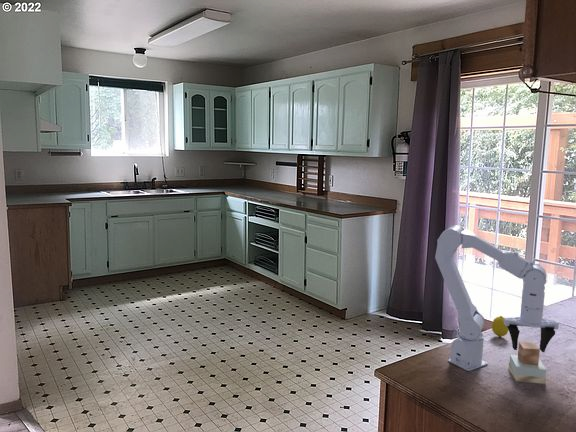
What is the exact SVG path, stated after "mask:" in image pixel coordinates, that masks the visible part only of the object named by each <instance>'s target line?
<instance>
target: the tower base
mask: <svg viewBox="0 0 576 432" xmlns="http://www.w3.org/2000/svg"><path fill="white" fill-rule="evenodd" d="M508 370H509V372H510V373H511V375H512V377H513V379H514V380H515V382H520V383H521V382H523V383H531V384H532V383H534V384H544V385H545V384H546V382H547V381H546V380H547V376H546V377H545V378H542V377H533V376H525V375H516V374H515V372H514V370H513V368H512V366H511V364H510V361H509V362H508Z"/></svg>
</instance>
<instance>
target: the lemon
mask: <svg viewBox="0 0 576 432" xmlns="http://www.w3.org/2000/svg"><path fill="white" fill-rule="evenodd" d="M504 318H505V317H503V315H500V316H497V317H495V318H494V319H493V321H492V324H491V330H492V332H493V334H494V335H495V336H497V337H498V338H501V337H505V336H506V335H507V334H508V332H509V330H508V327H507V326H505V325H504Z"/></svg>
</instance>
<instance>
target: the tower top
mask: <svg viewBox="0 0 576 432" xmlns="http://www.w3.org/2000/svg"><path fill="white" fill-rule="evenodd" d="M509 362H510V364H511V366H512V368H513V370H514V372H515V374H516V375H525V376H533V377H542V378H545V377H546V378H547V376H546V375H547V369H546V367H545V365H544V364H543V362H542V361H541V359H540V358H539V364H538V365H527V364H522V363H521V362H520V360H519V359H518V354H509Z"/></svg>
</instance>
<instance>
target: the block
mask: <svg viewBox="0 0 576 432" xmlns="http://www.w3.org/2000/svg"><path fill="white" fill-rule="evenodd" d="M540 352H541V350H540V347H538V345H537V344H536V343H535V342H525V341H518V346H517V355H518V359H519V360H520V362H521V363H522V364H527V365H538V364H539V359H540Z"/></svg>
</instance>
